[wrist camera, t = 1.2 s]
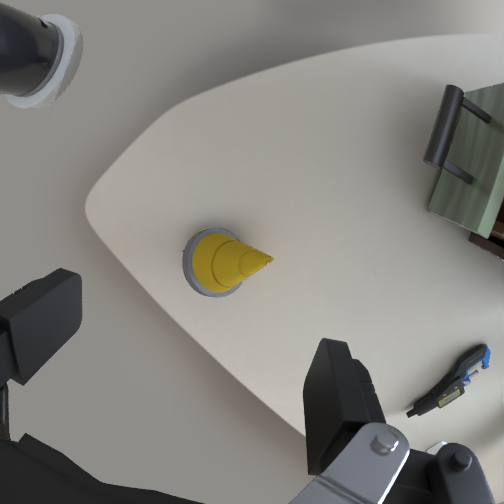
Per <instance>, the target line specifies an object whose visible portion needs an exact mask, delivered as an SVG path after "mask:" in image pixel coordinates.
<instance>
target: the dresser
mask: <svg viewBox="0 0 504 504" xmlns="http://www.w3.org/2000/svg"><path fill="white" fill-rule="evenodd" d="M469 241H470V242H471V243H473V244H475V245H477V246H478V247H480V248H482V249H484V250H485V251H487V252H489V253H490V254H492V255H494V256H495V257H497V258H499V259H500V260H502V261H503V262H504V245H503V244H502V243H500V242H499V241H497V240H495V239H494V238H492V237H491V236H489V237H488V239H486V238H484V237H482V236H480V235H478V234H476V233H474V232H472V233H471V236H470V238H469Z"/></svg>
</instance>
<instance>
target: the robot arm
mask: <svg viewBox="0 0 504 504" xmlns="http://www.w3.org/2000/svg"><path fill="white" fill-rule="evenodd" d="M37 16H38V17H39V18H37V17H35V16H33V15H30V14H28V13H26V12H24V11H21V10H19V9H16V8H13V7H11V6H9V5H6V4H3V3H0V94H7V95H13V96H16V97H29V96H32V95H34V94H36V93H37V92H39V91H40V90H41V89H43V88H44V87H45V86H46V84H47V83H48V82H49V81H50V80H51V78H52V77H53V75H54V74H55V72H56V70H57V68H58V66H59V63H60V61H61V58H62V54H63V49H64V37H63V33H62V31H61V29H60V28H59V27H58V26H57V25H55V24H53V23H51V22H48V21H45V20H44V19H43V18H42V17H41V16H39V15H37ZM81 321H82V280H81V276H80V275H79V274H77V273H74V272H71V271H68V270H65V269H62V268H59V269H57V270H56V271H54V272H52V273H51V274H49V275H47V276H46V277H44V278H41V279H37V280H34V281H32V282H30V283H28V284H27V285H25V286H23V287H22V289H21V288H20V289H19V290H17V291H15V292H14V294H13V293H12V294H11V295H9V296H7V297H6V298H4V299H3V300H1V301H0V504H204V503H199V502H195V501H191V500H187V499H183V498H179V497H176V496H172V495H169V494H165V493H162V492H158V491H155V490H146V489H138V488H131V487H124V486H118V485H111V484H106V483H102V482H100V481H99V480H97V479H95V478H94V477H92V476H91V475H90V474H89V473H87V472H86V471H84V470H83V469H82V468H80V467H79V466H78V465H76V464H75V463H74V462H73V461H71V460H70V459H69V458H68V457H66V456H65V455H64V454H63V453H61V452H59V451H57V450H55V449H53V448H51V447H50V446H48V445H46V444H44V443H42V442H40V441H39V440H37V439H35V438H33V437H31V436H30V435H28V434H27V433H25V434H24V435H23V437H22V438H21V439H20V440H19V442H15V441H11V439H10V433H9V412H8V386H7V383H6V382H7V381H8V380H9V379H10V378H11V379H13V380H14V381H16V382H18V383H19V384H21V385H25V384H26V383H27V381H28V380H29V379H30V378H31V377H32V376H33V375H34V374H35V373H36V372H37V371H38V370H39V369H40V368H41V367H42V366H43V365H44V364H45V363H46V362H47V361H48V360H49V359H50V358H51V357H52V356H53V354H55V353H56V352H57V351H58V350H59V349H60V347H61V346H63V345H64V344H65V343H66V342H67V341H68V340H69V339H70V338H71V337H72V336H73V335H74V334H75V333H76V332H77V330H78V329H79V327H80V324H81ZM303 402H304V416H305V430H306V446H307V462H308V475H316V477H315V478H314V479H313V480H312V481H311V482H310V483H309V484H308V485H307V486H306V487H305V488H304V489H303V490H302V491H301V492H300V493H299V494H298V495H297V496H296V497H295V498H294V499H293V500H292V501H291V502H289V503H288V504H496V503H495V501H494V498H493V495H492V493H491V490H490V487H489V485H488V482H487V480H486V477H485V475H484V473H483V470H482V468H481V465H480V463H479V461H478V459H477V457H476V456H475V454H474V453H473V452H472V451H471V450H470V449H468V448H467V447H465V446H463V445H461V444H457V443H448V444H445V445H443V446H442V447H441V448H440V449H439V450H438V452H437V453H436V454H435V455H433V454H429V453H425V452H421V451H417V450H413V449H410V446H409V442H408V440H407V438H406V437H405V436H404V435H403V434H402V432H400V431H399V430H398V429H396V428H395V427H393V426H391V425H388V424H386V421H385V418H384V415H383V412H382V409H381V406H380V403H379V400H378V397H377V394H376V393H375V389H374V386H373V384H372V380H371V377H370V375H369V372H368V370H367V369H366V368H365V367H364V365H363V364H362V363H361V362H360V361H359V360H356V359H352V357H351V354H350V351H349V348H348V345H347V343H346V342H343V341H338V340H332V339H327V338H323V339H322V340H321V341H320V343H319V346H318V348H317V351H316V353H315V356H314V358H313V361H312V363H311V366H310V368H309V371H308V373H307V376H306V379H305V383H304V388H303Z"/></svg>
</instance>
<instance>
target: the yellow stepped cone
mask: <svg viewBox="0 0 504 504" xmlns="http://www.w3.org/2000/svg"><path fill="white" fill-rule="evenodd" d="M182 251H183V252H184V253H183V260H182V262H183V271H184V275H185V277H186V280H187V281H188V283H189V284H190V286H191V287H192V288H193V289H194V290H195V291H197V292H198V293H200V294H202V295H204V296H209V297H224V296H227V295H230V294H231V293H233V292H234V291H235V290H236V289H237V288H238V287H239V286H240V284H241V283H242V281H243V280H245V279H246V278H248V277H249V276H250V275H252V274H254V273H255V272H257V271H258V270H260V269H261V268H262V267H264V266H265V265H266V264H267V262H269V263H270V262H271V261H273V260H274V259H273V258H272V257H270V256H268V255H266V254H264V253H262V252H260V251H258V250H256V249H254V248H252V247H250V246H248V245H246V244H244V243H242V242H240V241H239V240H238V238H237V237H236V236H235V235H234V234H232V233H231V232H229V231H227V230H225V229H221V228H213V229H208V230H204V231H201V232H199V233H197V234H196V235H195V236H193V237H192V238H191V239H190V241H189V242H188V244H187V245H186V247H185V250H182Z"/></svg>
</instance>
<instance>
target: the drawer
mask: <svg viewBox="0 0 504 504" xmlns="http://www.w3.org/2000/svg"><path fill="white" fill-rule="evenodd" d="M463 95H464V92H463V91H462V90H461V89H460V88H458V87H456V86H454V85H447V86H446V88H445V91H444V95H443V98H442V102H441V105H440V109H439V112H438V115H437V118H436V122H435V125H434V128H433V131H432V134H431V137H430V140H429V143H428V146H427V149H426V152H425V155H424V157H423V161H424V162H425V163H427V164H429V165H431V166H433V167H435V168H439V169H440V168H443V170H442V172H441V175H440V178H439V181H438V183H437V186H436V189H435V191H434V194H433V196H432V199H431V202H430V204H429V207H428V209H427V211H429V212H431V213H433V214H435V215H437V216H439V217H441V218H443V219H446V220H448V221H450V222H452V223H455V224H457V225H459V226H461V227H463V228H465V229H468V230H470V231H472V232H474V233H476V234H478V235H480V236H482V237H484V238H486V239H488V237H489V236H491V237H492V238H494V239H495V240H497V241H499V242H500V243H502V244H503V245H504V83H502V84H497V85H493V86H489V87H485V88H481V89H477V90H474V91H470V92H466V95H465V97H463ZM461 106H462V110H461V113H460V117H459V120H458V124H457V127H456V130H455V134H454V137H453V140H452V143H451V146H450V149H449V152H448V155H447V158H446V159H444V158H445V156H446V153H447V150H448V147H449V143H450V140H451V137H452V134H453V131H454V127H455V124H456V121H457V117H458V114H459V110H460V107H461Z"/></svg>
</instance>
